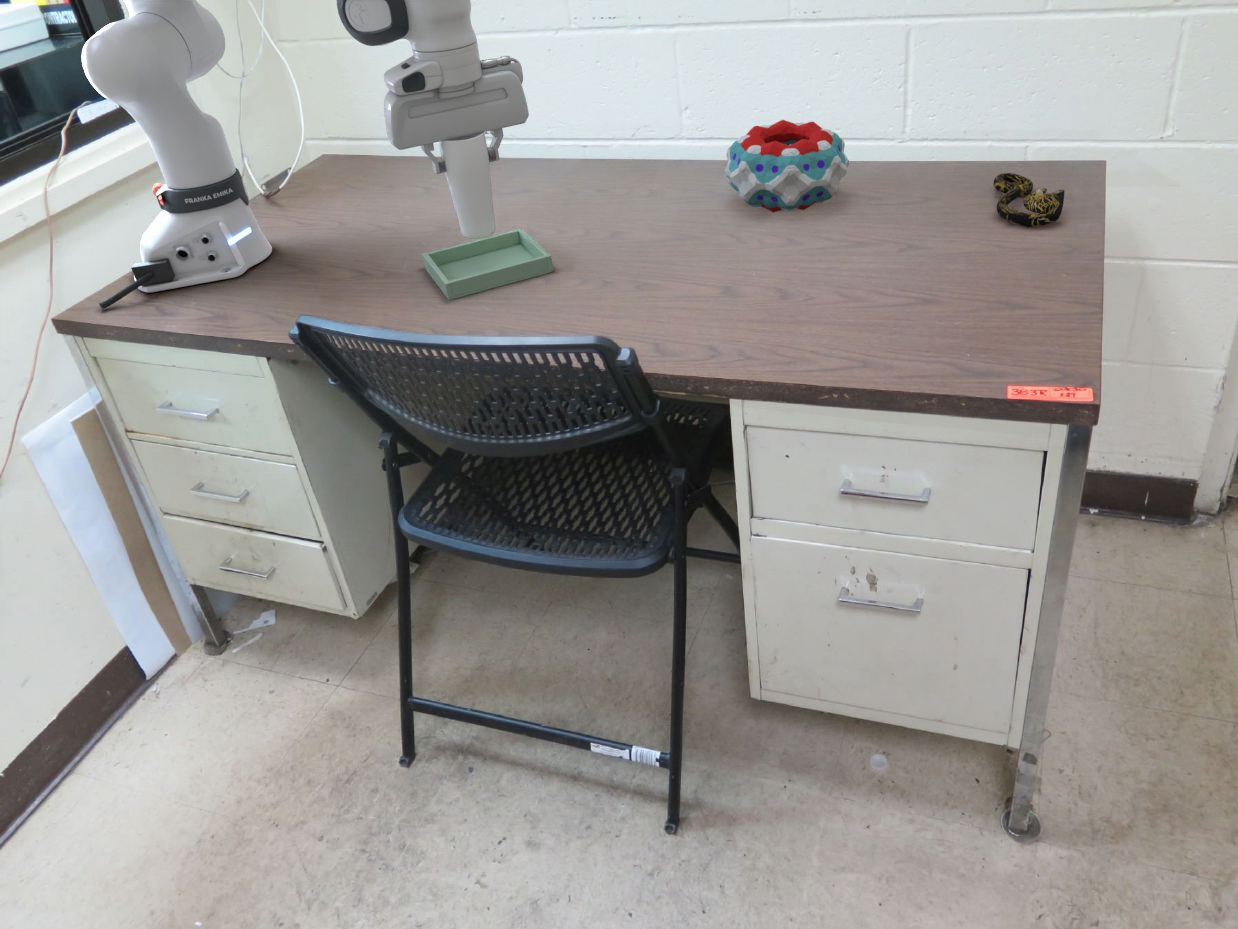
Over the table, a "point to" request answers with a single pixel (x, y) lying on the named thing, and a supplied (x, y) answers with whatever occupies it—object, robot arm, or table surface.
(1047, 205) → the rubber snake
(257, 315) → the table surface
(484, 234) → the drinking glass
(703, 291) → the table surface
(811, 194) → the decorative model
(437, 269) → the tray
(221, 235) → the robot arm
